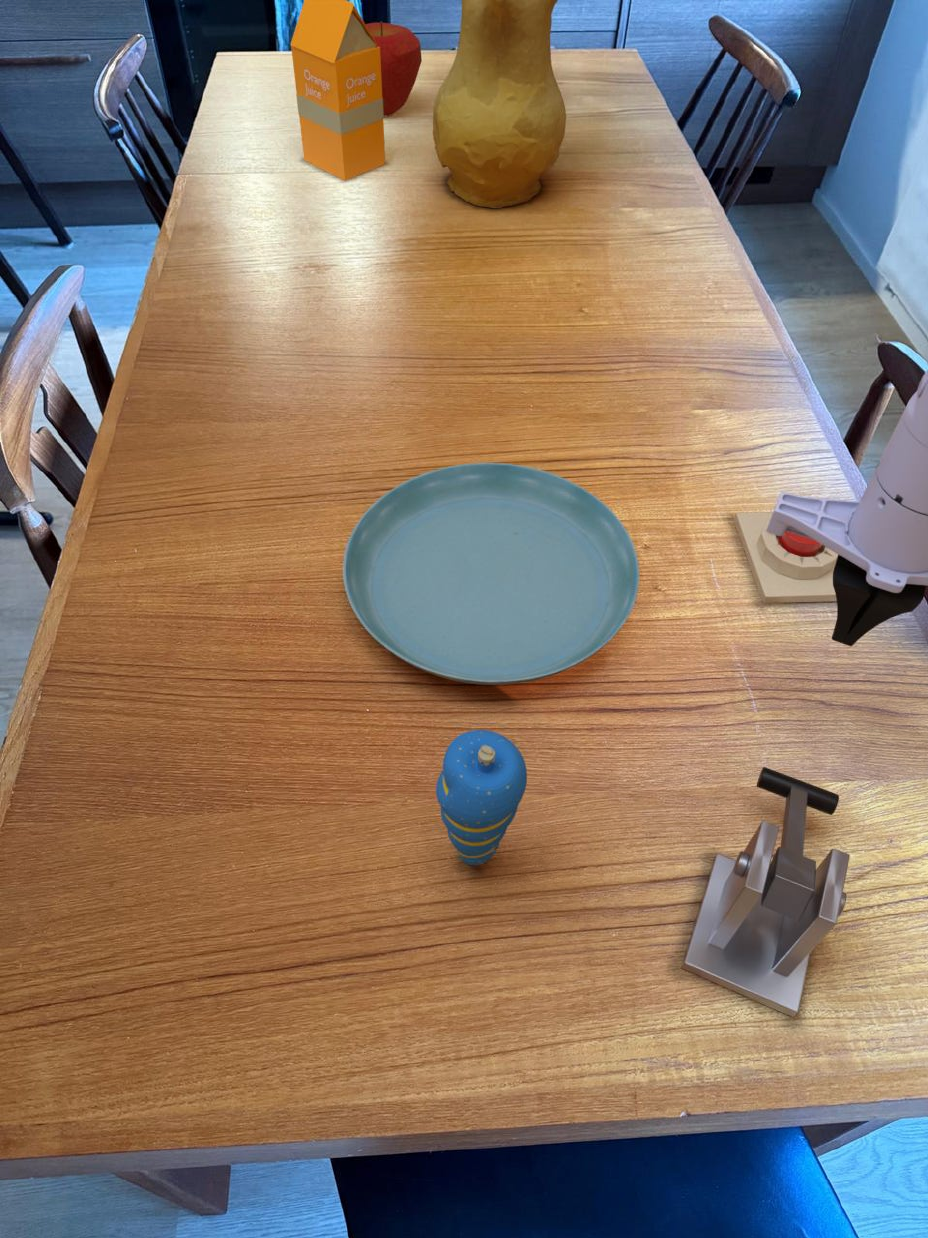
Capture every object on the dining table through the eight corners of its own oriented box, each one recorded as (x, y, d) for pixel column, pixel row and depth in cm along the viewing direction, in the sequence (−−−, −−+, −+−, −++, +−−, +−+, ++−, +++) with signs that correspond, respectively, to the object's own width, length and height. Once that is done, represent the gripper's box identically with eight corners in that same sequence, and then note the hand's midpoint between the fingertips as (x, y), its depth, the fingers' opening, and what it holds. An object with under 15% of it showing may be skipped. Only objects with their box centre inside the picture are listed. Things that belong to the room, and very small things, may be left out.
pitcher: (402, 184, 121) (408, -40, 102) (490, 147, 131) (510, -63, 112) (500, 231, 114) (526, 1, 95) (585, 189, 124) (623, -27, 105)
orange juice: (345, 143, 129) (331, -21, 114) (386, 163, 125) (378, -4, 110) (302, 160, 126) (283, -8, 110) (344, 181, 122) (330, 11, 106)
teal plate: (426, 459, 86) (426, 431, 83) (669, 540, 80) (676, 513, 77) (290, 637, 72) (284, 610, 69) (571, 752, 66) (576, 727, 63)
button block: (855, 601, 75) (866, 581, 74) (762, 603, 75) (770, 583, 73) (819, 517, 82) (828, 497, 80) (733, 519, 81) (740, 499, 79)
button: (826, 556, 76) (832, 543, 75) (784, 557, 76) (790, 544, 74) (813, 526, 78) (819, 513, 77) (773, 527, 78) (778, 514, 77)
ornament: (452, 816, 62) (455, 693, 51) (523, 840, 61) (543, 720, 50) (425, 883, 59) (422, 769, 47) (500, 910, 58) (515, 799, 46)
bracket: (713, 858, 61) (752, 788, 53) (817, 901, 59) (873, 834, 51) (681, 968, 56) (718, 908, 48) (793, 1018, 54) (850, 963, 47)
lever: (754, 785, 61) (767, 757, 60) (828, 813, 60) (842, 785, 59) (735, 896, 51) (750, 864, 50) (824, 933, 50) (840, 901, 49)
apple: (436, 110, 137) (435, 20, 128) (386, 132, 132) (382, 39, 123) (384, 90, 142) (380, 1, 132) (334, 110, 136) (327, 19, 127)
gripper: (784, 486, 50) (724, 636, 61) (1063, 572, 46) (948, 717, 57) (810, 415, 54) (750, 568, 65) (1069, 489, 50) (960, 638, 61)
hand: (844, 633), depth 61 cm, fingers closed
